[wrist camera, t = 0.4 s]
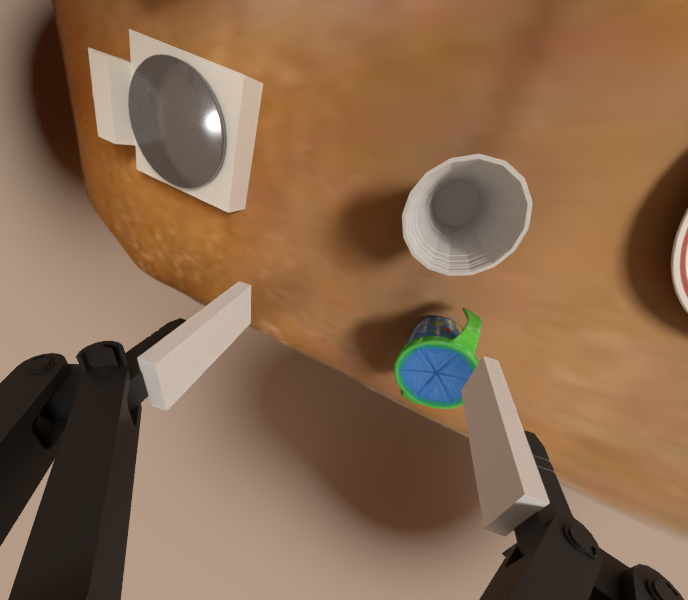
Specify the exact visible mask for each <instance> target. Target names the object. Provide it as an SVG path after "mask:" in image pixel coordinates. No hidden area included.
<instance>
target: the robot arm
mask: <svg viewBox="0 0 688 600" xmlns="http://www.w3.org/2000/svg"><path fill="white" fill-rule="evenodd" d="M250 323H251V285H249V284H246V283H242V282H237V283H236V284H235V285H233V286H232V287H231V288H229V289H228V290H227V291H225V292H224V293H223V294H221V295H220V296H219V297H217V298H216V299H215V300H213V301H212V302H211V303H209V304H208V305H207V306H205V307H204V308H203V309H201V310H200V311H199V312H197V313H196V314H195V315H193V316H192V317H191V318H190V319H188V320H184V319H181V318H180V319H177V320H174V321H172V322H169V323H167V324H166V325H165V326H163V327H162V328H160V329H159V331H156V332H155V333H153V334H152V335H151V336H149V337H147V338H146V339H145V340H143V341H142V342H140V343H139V344H138V345H136V346H135V347H133V348H132V349H130V350H129V351H128V352H126V353H125V351H124V348H123V345H121V344H120V343H119V342H114V341H103V342H98V343H94V344H92V345H89V346H87V347H85V348H84V349H82V350H81V351H80V352H79V353H78V355H77V356H76V358H77V360H78V362H79V364H68V363H67V361H66V359H65V357H64V356H62V355H60V354H54V353H50V354H42V355H39V356H35V357H33V358H30V359H28V360H26V361H24V362H23V363H21V364H20V365H18V366H17V367H16V368H15V369H14V370H13V371H12V372H11V373H10V374H9V375H8V376H7V377H6V378H5V379H4V380H3V381H2V382H1V383H0V546H1V544H2V543H3V541H4V540H5V538H6V536H7V535H8V533H9V531H10V530H11V528H12V527H13V525H14V523H15V522H16V520H17V519H18V517H19V515H20V514H21V512H22V511H23V509H24V507H25V506H26V504H27V503H28V501H29V499H30V498H31V496H32V495H33V493H34V491H35V490H36V488H37V487H38V485H39V483H40V481H41V480H42V478H43V477H44V475H45V474H46V472H47V470H48V469H49V467H50V466H51V464H52V462H53V461H54V463H53V466H52V469H51V472H50V475H49V478H48V481H47V484H46V487H45V490H44V493H43V496H42V500H41V503H40V505H39V509H38V511H37V515H36V517H35V521H34V524H33V527H32V530H31V533H30V536H29V539H28V542H27V545H26V548H25V551H24V554H23V557H22V560H21V563H20V566H19V569H18V572H17V575H16V578H15V581H14V584H13V587H12V590H11V593H10V596H9V599H8V600H121V591H122V582H123V573H124V564H125V554H126V545H127V537H128V527H129V519H130V510H131V501H132V492H133V483H134V473H135V464H136V454H137V446H138V437H139V428H140V419H141V410H142V407H141V402H142V401H143V400H144V399H146V398H147V397H148V398H149V401H150V405H151V406H154V407H157V408H160V409H162V410H165V411H167V410H168V409H169V408H170V407H171V406H172V405H173V404H174V403H175V402H176V401H177V400H178V399H179V398H180V397H181V396H182V395H183V394H184V393H185V391H186V390H187V389H188V388H189V387H190V386H191V385H192V384H193V383H194V382H195V381H196V380H197V379H198V378H199V377H200V376H201V375H202V374H203V373H204V372H205V371H206V369H207V368H208V367H209V366H210V365H211V364H212V363H213V362H214V361H215V360H216V359H217V358H218V357H219V356H220V355H221V354H222V352H224V350H226V348H227V347H228V346H229V345H230V344H231V343H232V342H233V341H234V340H235V339H236V338H237V337H238V336H239V335H240V334H241V333H242V332H243V331H244V330H245V328H246V327H247V326H248V325H249V324H250ZM461 393H462V399H463V405H464V411H465V417H466V423H467V429H468V435H469V441H470V447H471V452H472V459H473V465H474V471H475V477H476V482H477V488H478V494H479V500H480V506H481V512H482V517H483V524H484V529H487V530H489V531H492V532H495V533H498V534H500V535H503V536H506V535H508V534H509V533H511V532H512V531H513V530H514V531H515V535H516V539H517V543H516V544H514V545H513V546H512V547H510V548H509V549H508V550H506V551H505V552H503V553H502V554H503V555H504V556H506V558H505V559H504V561H503V563H502V564H501V566H500V567H499V569H498V571H497V572H496V574H495V575H494V577H493V579H492V580H491V582H490V583H489V585H488V587H487V588H486V590H485V591H484V593H483V595H482V596H481V598H480V600H684V599H683V598H682V596H681V594H680V593H679V592H678V591H677V590H676V589H675V588H674V587H673V585H672V584H671V583H670V582H669V581H668V580H667V579H665V578H664V577H663V576H662V575H661V574H660V573H659V572H657V571H655V570H654V569H652V568H650V567H649V566H646V565H641V564H639V565H636V566H634V567H631V568H629V567H628V566H626V565H624V564H623V563H621V562H620V561H618V560H617V559H615V558H614V557H612V556H611V555H609V554H608V553H606V552H605V551H603V550H602V549H601V548H599V546H598V544H597V542H596V541H595V539H594V537H593V536H592V534H591V533H590V532H589V531H588V530H587V529H586V528H585V527H584V525H583V524H581V523H580V522H579V521H577V520H576V519H575V518H574V517H573V515H572V514H571V511H570V509H569V506H568V504H567V501H566V499H565V497H564V494H563V492H562V489H561V487H560V484H559V482H558V479H557V477H556V475H555V473H554V470H553V467H552V465H551V462H549V458H548V455H547V453H546V450H545V448H544V446H543V445H542V443H541V442H540V441H539V439H538V438H537V437H536V435H535V434H534V433H531V432H528V431H525V430H523V427H522V425H521V422H520V419H519V416H518V414H517V411H516V408H515V405H514V403H513V400H512V397H511V394H510V392H509V389H508V386H507V383H506V381H505V378H504V375H503V372H502V370H501V367H500V364H499V361H498V360H495V359H492V358H489V357H485V356H483V357H482V359H481V360H480V362H479V363H478V365H477V366H476V368H475V370H474V371H473V373H472V374H471V376H470V377H469V379H468V381H467V382H466V384H465V385H464V387H463V389H462V390H461ZM54 459H55V460H54Z"/></svg>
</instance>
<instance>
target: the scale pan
mask: <svg viewBox="0 0 688 600" xmlns="http://www.w3.org/2000/svg"><path fill="white" fill-rule="evenodd" d="M128 106H129V116H130V122H131V126H132V130H133V133H134V136H135V139H136V141H137V143H138V146H139V148H140V150H141V152H142V154H143V155H144V157H145V158H146V160H147V162H148V163H149V164H150V165H151V167H152V168H153V169H154V170H155V171H156V172H157V173H158V174H159V175H160V176H161V177H162V178H163V179H165V180H166V181H168V182H169V183H171V184H173V185H176V186H178V187H182V188H198V187H202V186H205V185H207V184H209V183H210V182H211V181H213V180H214V179H215V177H216V176H217V175H218V173H219V172H220V170H221V168H222V166H223V163H224V159H225V155H226V148H227V134H226V126H225V120H224V116H223V113H222V110H221V107H220V104H219V102H218V99H217V97H216V95H215V93H214V91H213V90H212V88H211V86H210V85H209V83H208V82H207V81H206V79H205V78H204V77H203V76H202V75H201V73H199V72H198V71H197V70H196V69H195V68H194V67H193V66H191V65H190V64H188V63H187V62H185V61H183V60H180V59H178V58H176V57H173V56H169V55H163V54H159V55H154V56H151V57H148V58H147V59H145V60H144V61H143V62H142V63H141V64H140V65H139V66H138V68H137V69H136V71H135V73H134V75H133V77H132V80H131V83H130V89H129V98H128Z"/></svg>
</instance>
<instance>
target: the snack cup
mask: <svg viewBox="0 0 688 600" xmlns="http://www.w3.org/2000/svg"><path fill="white" fill-rule="evenodd" d="M462 310H463V311H464V313H465V315H466V317H467V324H466V325H465V327H464V328H463V330H461V328H460V327H459V326H458V325H457V324H456V323H455V322H454V321H453V320H451V319H447V318H444V317H437V316H435V317H427V318H424V319H423V320H422V321H421V322H419V323H418V324H417V325H416V326H415V328H414V329H413V331H412V333H411V335H410V337H409V339H408V341H407V343H406V345H405V346H404V347H403V348H402V349H401V351H400V352H399V354H398V356H397V359H396V361H395V363H394V368H393V370H394V372H395V378H396V381H397V383H398V385H399V387H400V388H401V395H402V396H403V397H404V398H406V399H407V400H409V401H411V402H413V403H415V404H422V405H425V406H428V407H432V408H439V409H449V408H455V407H459V406H462V405H463V399H462V393H461V390H462V389H463V387H464V385H465V384H466V382H467V381H468V379H469V377H470V376H471V374H472V373H473V371H474V370H475V368H476V366H477V365H478V363H479V361H478V359H477V358H476V356H475V355H474V354H475V350H476V347H477V344H478V339H479V336H480V330H481V323H482V319H481V318H480V317H478V316H477V315H476V314H474V313H473V312H471V311H469V310H467V309H465V308H463V309H462Z"/></svg>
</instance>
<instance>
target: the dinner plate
mask: <svg viewBox="0 0 688 600" xmlns="http://www.w3.org/2000/svg"><path fill="white" fill-rule="evenodd" d="M671 275H672V282H673V286H674V289H675V293H676V295H677V297H678V299H679V301H680V303H681V305H682V307H683V308H684V309H685V311H686V312H687V313H688V208H687V210H686V212H685V214H684V216H683V218H682V220H681V223H680V225H679V228H678V230H677V233H676V236H675V240H674V243H673V248H672V255H671Z"/></svg>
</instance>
